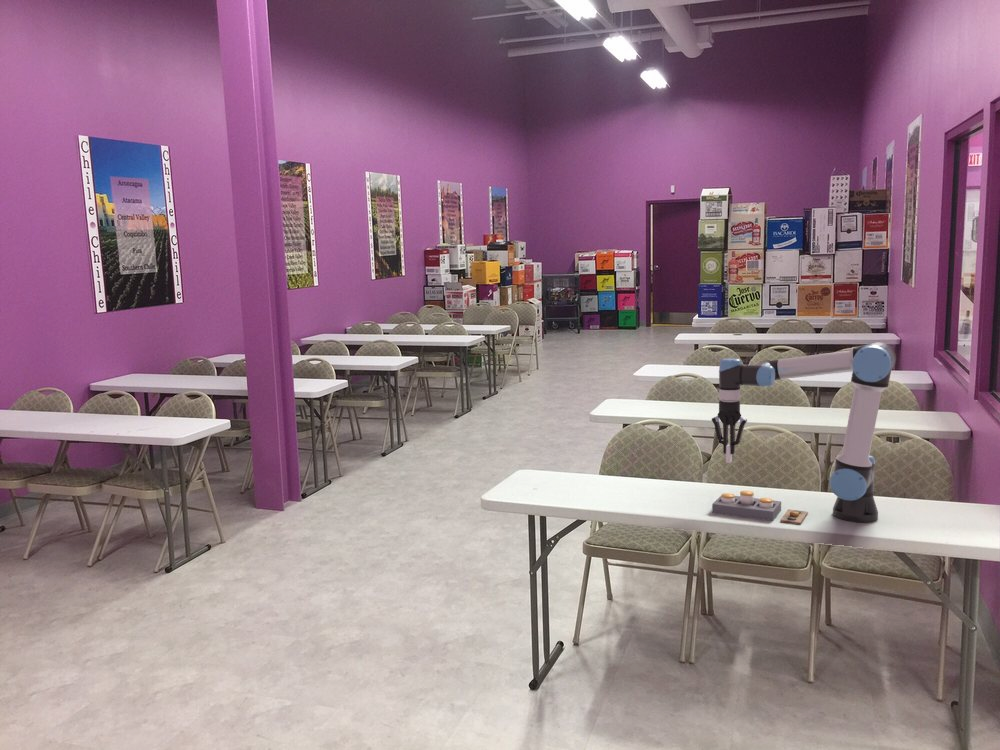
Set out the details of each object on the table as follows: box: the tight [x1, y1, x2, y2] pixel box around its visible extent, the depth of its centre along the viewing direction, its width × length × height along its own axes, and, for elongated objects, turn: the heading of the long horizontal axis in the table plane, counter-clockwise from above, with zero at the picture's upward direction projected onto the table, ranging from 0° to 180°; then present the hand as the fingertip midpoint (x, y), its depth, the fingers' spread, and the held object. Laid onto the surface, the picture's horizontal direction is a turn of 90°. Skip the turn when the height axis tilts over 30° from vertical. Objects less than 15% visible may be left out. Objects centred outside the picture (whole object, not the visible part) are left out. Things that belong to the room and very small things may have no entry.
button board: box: [711, 495, 782, 522], centre depth 304 cm, size 22×14×4 cm, turn 60°
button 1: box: [720, 492, 736, 503], centre depth 307 cm, size 5×5×4 cm
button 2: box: [758, 497, 774, 508], centre depth 300 cm, size 5×5×4 cm
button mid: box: [739, 490, 755, 506], centre depth 304 cm, size 5×5×4 cm
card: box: [779, 508, 809, 525], centre depth 296 cm, size 7×14×2 cm, turn 150°
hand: (728, 462), depth 305 cm, fingers closed
